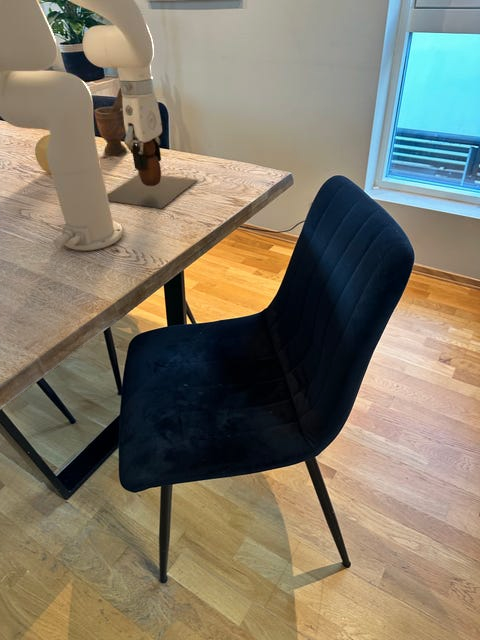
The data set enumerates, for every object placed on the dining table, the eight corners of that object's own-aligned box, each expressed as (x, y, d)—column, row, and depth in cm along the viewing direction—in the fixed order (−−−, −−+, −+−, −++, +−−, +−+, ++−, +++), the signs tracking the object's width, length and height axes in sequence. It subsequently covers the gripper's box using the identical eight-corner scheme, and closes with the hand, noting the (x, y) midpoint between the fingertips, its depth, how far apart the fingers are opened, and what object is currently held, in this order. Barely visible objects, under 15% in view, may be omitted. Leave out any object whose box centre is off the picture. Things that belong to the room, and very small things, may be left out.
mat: (161, 209, 104) (161, 208, 104) (99, 200, 110) (99, 199, 110) (196, 181, 119) (196, 180, 119) (140, 174, 124) (140, 173, 124)
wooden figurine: (164, 186, 113) (157, 125, 103) (143, 189, 111) (133, 128, 102) (159, 178, 118) (151, 119, 108) (138, 181, 116) (128, 122, 107)
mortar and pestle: (137, 147, 145) (127, 80, 133) (140, 154, 139) (129, 85, 127) (102, 150, 143) (88, 83, 131) (103, 158, 136) (88, 88, 124)
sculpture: (57, 181, 121) (45, 141, 114) (33, 172, 127) (21, 134, 120) (90, 169, 128) (81, 131, 122) (66, 162, 134) (56, 125, 127)
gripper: (130, 95, 93) (143, 177, 104) (168, 82, 105) (176, 156, 116) (101, 94, 95) (117, 174, 106) (142, 80, 108) (152, 153, 119)
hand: (148, 164), depth 111 cm, fingers closed on wooden figurine, 6 cm apart
